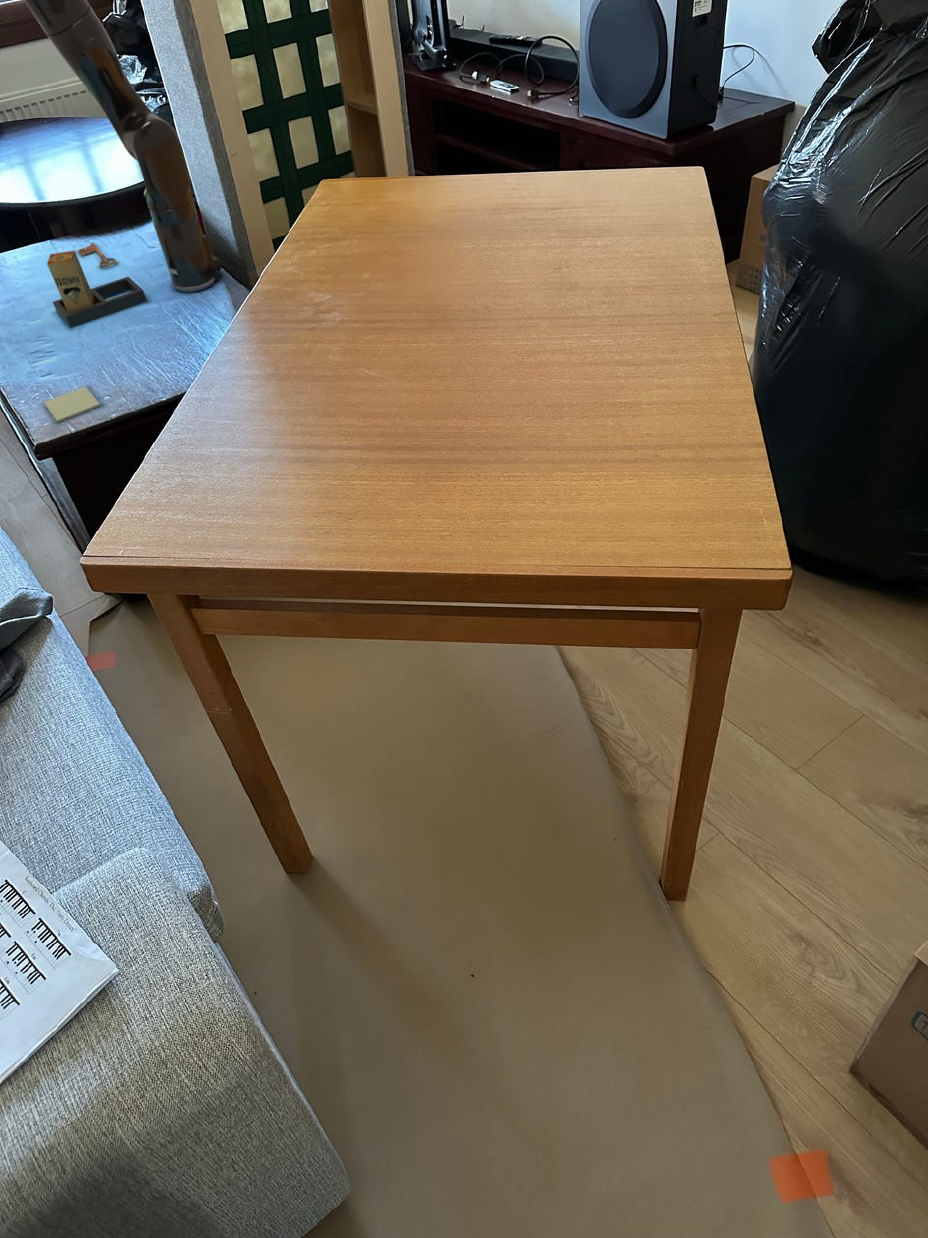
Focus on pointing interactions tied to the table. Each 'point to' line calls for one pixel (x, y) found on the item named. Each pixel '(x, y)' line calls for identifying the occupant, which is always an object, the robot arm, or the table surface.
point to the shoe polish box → (70, 281)
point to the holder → (104, 302)
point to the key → (98, 253)
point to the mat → (71, 404)
